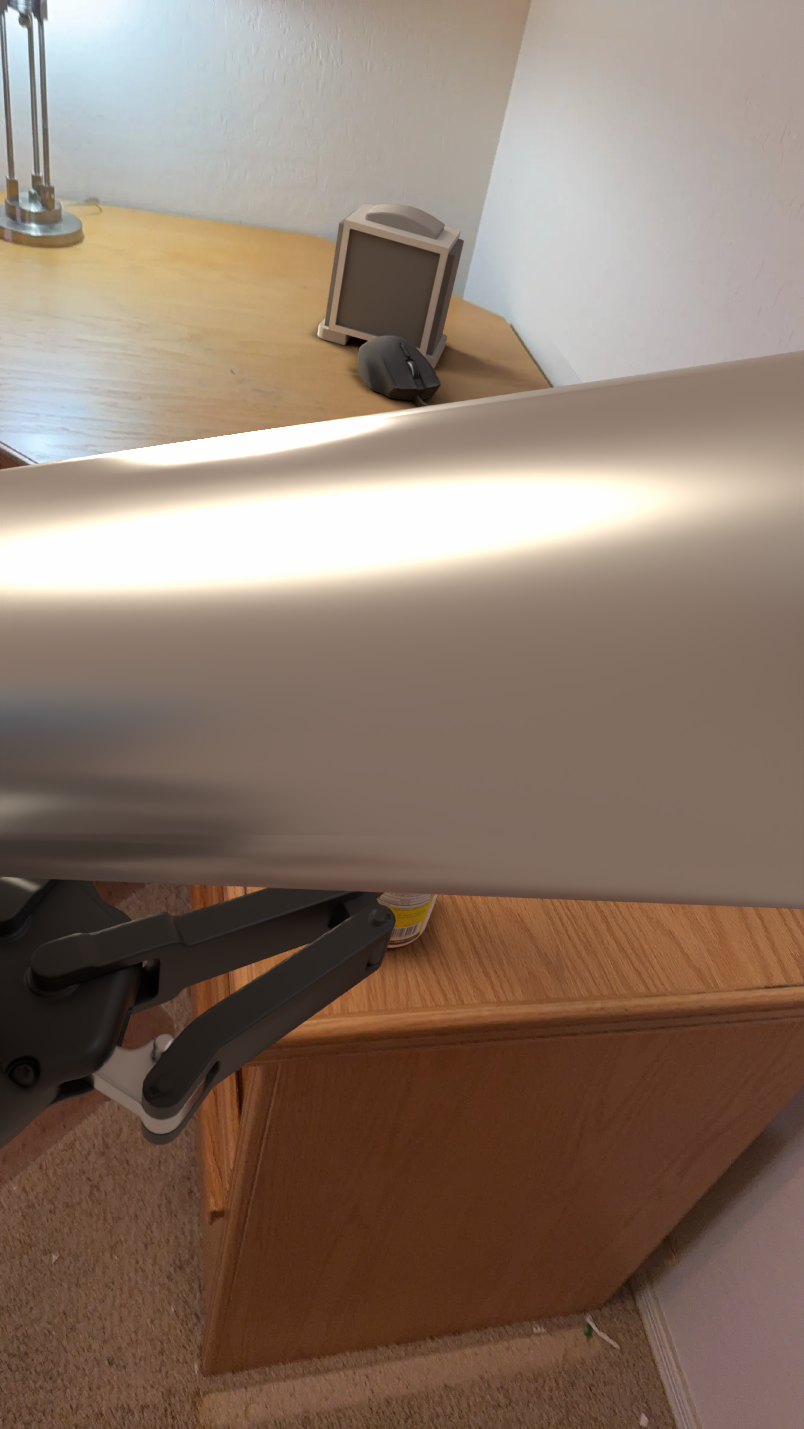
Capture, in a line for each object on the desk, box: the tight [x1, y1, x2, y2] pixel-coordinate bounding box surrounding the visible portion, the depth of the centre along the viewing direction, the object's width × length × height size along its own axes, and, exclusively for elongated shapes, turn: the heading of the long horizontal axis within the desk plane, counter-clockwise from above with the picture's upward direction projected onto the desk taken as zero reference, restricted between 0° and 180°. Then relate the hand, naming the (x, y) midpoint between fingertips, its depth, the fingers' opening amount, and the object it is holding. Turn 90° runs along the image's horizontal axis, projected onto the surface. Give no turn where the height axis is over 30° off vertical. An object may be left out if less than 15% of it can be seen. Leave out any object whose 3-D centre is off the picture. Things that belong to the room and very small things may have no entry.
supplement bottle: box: [377, 892, 439, 949], centre depth 52 cm, size 6×6×10 cm
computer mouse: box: [356, 336, 442, 407], centre depth 117 cm, size 9×32×6 cm, turn 29°
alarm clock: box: [317, 202, 465, 369], centre depth 131 cm, size 18×13×18 cm
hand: (369, 736), depth 38 cm, fingers open, 7 cm apart
